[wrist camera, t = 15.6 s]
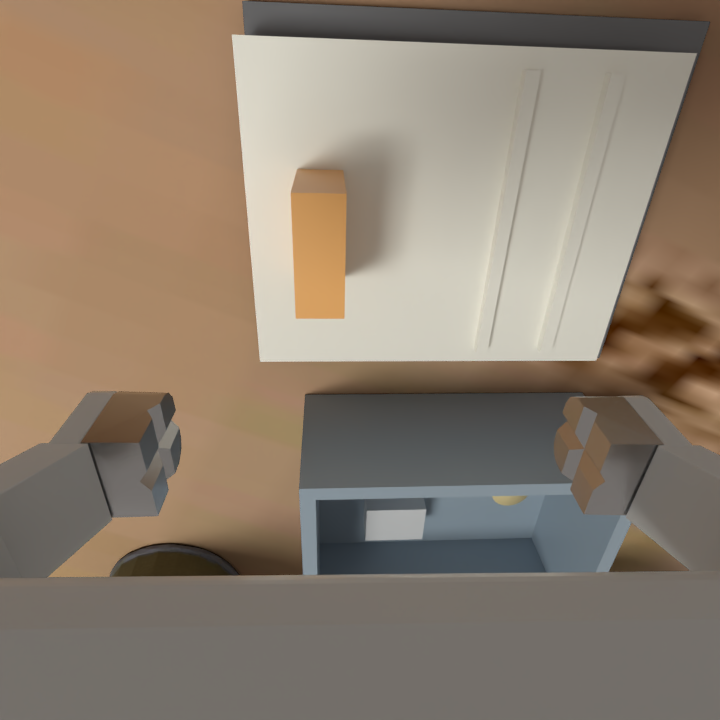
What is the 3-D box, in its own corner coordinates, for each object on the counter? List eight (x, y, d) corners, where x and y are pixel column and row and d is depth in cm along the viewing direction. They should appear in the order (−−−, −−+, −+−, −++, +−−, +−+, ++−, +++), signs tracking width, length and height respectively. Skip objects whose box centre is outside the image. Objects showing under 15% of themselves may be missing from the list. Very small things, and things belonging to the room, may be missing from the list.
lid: (665, 53, 22) (784, 51, 16) (579, 341, 29) (639, 409, 24) (240, 37, 21) (207, 27, 15) (264, 341, 28) (248, 412, 22)
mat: (701, 22, 22) (710, 21, 21) (594, 352, 31) (599, 358, 30) (244, 2, 21) (242, 0, 20) (270, 353, 29) (269, 358, 29)
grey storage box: (581, 392, 32) (650, 481, 25) (535, 535, 39) (579, 635, 33) (305, 394, 31) (299, 489, 24) (309, 542, 38) (306, 646, 31)
